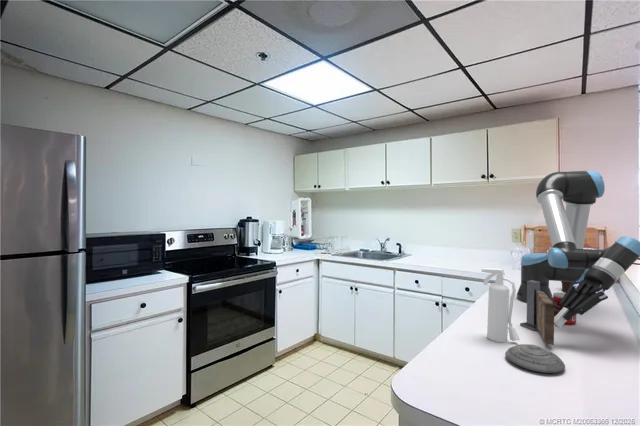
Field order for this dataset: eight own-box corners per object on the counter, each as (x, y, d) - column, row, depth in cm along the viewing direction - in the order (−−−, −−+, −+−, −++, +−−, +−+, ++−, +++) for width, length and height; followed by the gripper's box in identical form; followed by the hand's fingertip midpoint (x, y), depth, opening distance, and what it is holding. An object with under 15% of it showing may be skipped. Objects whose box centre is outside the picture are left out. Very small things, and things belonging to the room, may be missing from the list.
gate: (535, 324, 125) (535, 290, 125) (542, 325, 124) (542, 290, 124) (545, 343, 108) (545, 303, 107) (553, 345, 107) (554, 304, 106)
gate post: (520, 325, 128) (520, 280, 128) (531, 323, 130) (532, 279, 129) (534, 331, 122) (534, 283, 122) (546, 329, 124) (546, 282, 124)
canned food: (573, 319, 134) (573, 293, 134) (578, 326, 127) (579, 298, 127) (550, 317, 138) (551, 291, 137) (555, 323, 130) (555, 296, 130)
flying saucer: (509, 348, 108) (510, 332, 108) (566, 362, 99) (566, 344, 99) (500, 365, 97) (500, 347, 97) (563, 383, 87) (563, 362, 87)
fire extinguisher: (515, 347, 108) (516, 273, 108) (478, 337, 117) (479, 268, 117) (522, 342, 113) (523, 270, 112) (486, 332, 122) (486, 265, 121)
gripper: (629, 287, 104) (579, 340, 103) (593, 277, 117) (548, 324, 117) (614, 270, 104) (563, 324, 103) (579, 263, 117) (534, 310, 116)
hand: (555, 324), depth 110 cm, fingers closed
